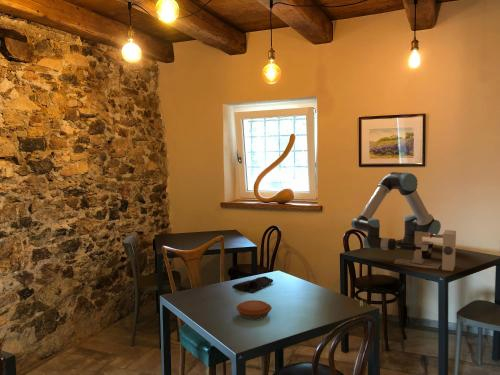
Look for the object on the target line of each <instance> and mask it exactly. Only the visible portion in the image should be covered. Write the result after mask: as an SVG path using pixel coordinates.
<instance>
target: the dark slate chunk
mask: <svg viewBox="0 0 500 375" xmlns="http://www.w3.org/2000/svg"><path fill="white" fill-rule="evenodd" d="M273 282H274V279H272V278H270V277H267V276H260V277H255V278H253V279H250V280H249V279H248V280H246V281H245V280H244V281H242V282H238V283H235V284H233V285H232V286H231V288H232V289H233V290H237V291H239V292H242V293H249V294H254V293H255V292H258V291H260V290H262V289H263V288H265V287H267V286H269V285H271V283H273Z"/></svg>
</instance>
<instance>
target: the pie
mask: <svg viewBox="0 0 500 375" xmlns="http://www.w3.org/2000/svg"><path fill="white" fill-rule="evenodd" d="M235 308H236V311H237V312H238V314H239V315H240V316H241V317H242V318H243V319H246V320H249V319H259V320H262V319H261V318H263V319H265V318H266V317H267V316H268V315H269V313H270V312H271V310H272V308H273V307H272V305H270V303H267V302H266V301H263V300H255V299H254V300H253V299H251V300H245V301H242V302H239V303H238V304H237V306H236V307H235ZM264 317H265V318H264Z"/></svg>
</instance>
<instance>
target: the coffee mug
mask: <svg viewBox="0 0 500 375" xmlns="http://www.w3.org/2000/svg"><path fill="white" fill-rule="evenodd" d="M422 244H425V245H428V249H427V251H422V258H424V260H425V259H427V260H428V259H432V253H433V249H434V242H433V241H426V240H422Z"/></svg>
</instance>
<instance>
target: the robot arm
mask: <svg viewBox="0 0 500 375" xmlns="http://www.w3.org/2000/svg"><path fill="white" fill-rule="evenodd" d="M418 182H419V181H418V178H417V177H416V175H415V174H413V173H411V172H410V173H409V172H398V171H397V172H396V171H392V172H389V173H387V174H386V175H385V176H383V177H382V178H381V180H380V181H379V183H378V184H377V185H376V186H377V188H376V189H375V191H374V192H373V194H372V196H371V197H370V199H369V200H368V201H367V203H366V205H365V206H364V208H363V209H362V211H361V212H360V214H359V215H358V216H357V218H353V219H351V223H350V225H351V228H352V229H354V230H357V231H363V232H367V235H366V236H364V238H363V246H364V248H366V249H367V248H368V249H374V250H375V249H376V250H383V251H387V250H389V251H395V250H396V249H397V250H405V251H413V252H414V251H415V249H416V250H422V251H427V249H428V245H425V244H422V246H418V245H416V247H415V246H414V239H415V231H420V232H428V233H429V237H430V233H432V234H439V233H440V231H441V229H442V228H441V225H442V224H441V222H440V221H439V220H438V219H435V218H434V216H433V214H430V213H429V211H428V210H427V208H426V206H425V204H424V203H423V200H422V198H421V197H420V195H419V193H418V191H417V189H418V184H419V183H418ZM392 190H398V192H399V194H400V195H401V196H404V198H405V199H406V202H407V203H408V205H409V207H410V209H411V211H412V213H413V215H406V216H405V218H404V235H403V238H402V241H396V239H395V238H388V237H381V236H380V232H381V231H380V230H381V229H380V227H381V224H380V220H379V218H373V216H374V215H375V213H376V211H377V210H378V209H379V206H380V205H381V204H382V202H383V201H384V199H385V198H386V196H387V195H388V194H390V193H391V192H392Z"/></svg>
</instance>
